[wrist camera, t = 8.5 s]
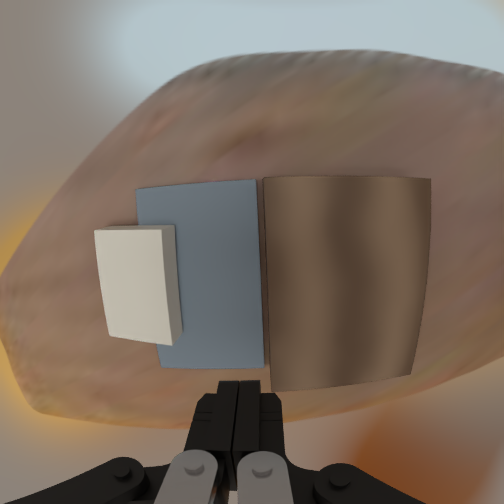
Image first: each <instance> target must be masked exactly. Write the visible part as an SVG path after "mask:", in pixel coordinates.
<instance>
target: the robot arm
mask: <svg viewBox="0 0 504 504" xmlns="http://www.w3.org/2000/svg"><path fill="white" fill-rule="evenodd" d="M237 487H238V504H426V503H423V502H421V501H419V500H417V499H415V498H413V497H411V496H409V495H406V494H405V493H403V492H401V491H399V490H397V489H395V488H393V487H391V486H389V485H387V484H385V483H383V482H382V481H380V480H378V479H376V478H374V477H373V476H371V475H369V474H367V473H365V472H364V471H362V470H360V469H359V468H357V467H355V466H353V465H350V464H345V463H336V464H332V465H329V466H326V467H324V468H323V469H321V470H320V471H314V470H307V469H303V468H300V467H297V466H295V465H294V464H292V463H291V462H290V461H289V460H288V459H287V457H286V455H285V447H284V432H283V418H282V405H281V400H280V399H279V398H278V396H277V395H276V394H275V393H261V385H260V380H248V381H240V382H239V381H219V384H218V389H217V394H210V393H206V394H205V395H204V396H203V397H202V398H201V399H200V400H199V401H198V402H197V406H196V409H195V413H194V416H193V422H192V423H191V427H190V430H189V434H188V437H187V441H186V445H185V448H184V451H183V452H182V453H180V454H178V455H177V456H176V457H174V459H173V460H172V462H171V463H170V464H167V465H163V466H156V467H144V468H143V466H142V465H141V464H140V463H139V462H138V461H137V460H135V459H132V458H129V457H118V458H114V459H112V460H110V461H108V462H106V463H104V464H102V465H99V466H97V467H95V468H93V469H91V470H89V471H87V472H84V473H82V474H80V475H78V476H76V477H73V478H71V479H69V480H66V481H64V482H62V483H59V484H57V485H54V486H52V487H49V488H47V489H44V490H42V491H39V492H37V493H34V494H31V495H28V496H26V497H23V498H20V499H17V500H14V501H11V502H8V503H5V504H228V499H229V491H237Z"/></svg>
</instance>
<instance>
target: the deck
mask: <svg viewBox="0 0 504 504" xmlns="http://www.w3.org/2000/svg"><path fill="white" fill-rule="evenodd" d="M262 180H263V200H264V222H265V244H266V268H267V294H268V322H269V352H270V375H271V390H272V392H281V391H296V390H308V389H318V388H328V387H336V386H344V385H352V384H359V383H365V382H372V381H378V380H383V379H389V378H394V377H399V376H404V375H409V374H411V370H412V366H413V362H414V357H415V352H416V347H417V342H418V337H419V332H420V326H421V320H422V314H423V307H424V300H425V292H426V284H427V274H428V263H429V250H430V232H431V179H426V178H407V177H380V176H293V177H264V178H263V179H262Z"/></svg>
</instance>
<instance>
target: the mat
mask: <svg viewBox="0 0 504 504" xmlns="http://www.w3.org/2000/svg"><path fill="white" fill-rule="evenodd" d="M135 190H136V203H137V215H138V225H174V226H175V246H176V262H177V276H178V288H179V300H180V310H181V320H182V330H183V333H182V334H181V335H180V336H179V338H178V339H177V340H176V342H175V343H174V344H173V346H171V345H164V344H156V345H157V350H158V355H159V359H160V364H161V367H163V368H189V369H246V368H264V346H263V322H262V299H261V276H260V254H259V233H258V213H257V193H256V179H253V180H235V181H219V182H206V183H193V184H182V185H171V186H162V187H152V188H143V189H135Z"/></svg>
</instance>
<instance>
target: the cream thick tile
mask: <svg viewBox="0 0 504 504" xmlns="http://www.w3.org/2000/svg"><path fill="white" fill-rule="evenodd" d="M94 234H95V245H96V254H97V263H98V271H99V278H100V285H101V292H102V298H103V304H104V310H105V315H106V320H107V325H108V330H109V335H110V336H114V337H119V338H125V339H131V340H137V341H143V342H150V343H156V344H164V345H171V346H173V344H174V343H175V342H176V340H177V339H178V338H179V336H180V335H181V334H182V333H183V330H182V320H181V310H180V300H179V288H178V276H177V262H176V246H175V226H174V225H131V226H108V227H105V228H101V229H97V230H94Z"/></svg>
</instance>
